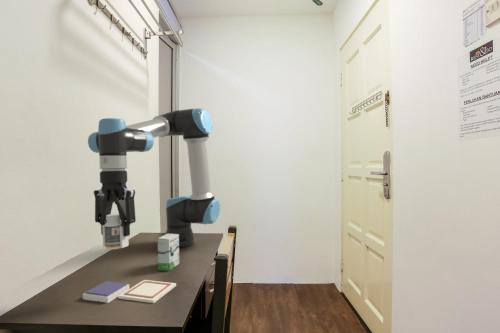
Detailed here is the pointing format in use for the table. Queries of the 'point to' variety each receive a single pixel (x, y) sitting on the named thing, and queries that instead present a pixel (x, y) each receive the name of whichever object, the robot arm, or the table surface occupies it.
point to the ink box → (168, 251)
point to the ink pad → (105, 291)
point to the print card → (147, 291)
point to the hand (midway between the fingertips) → (115, 245)
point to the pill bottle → (112, 231)
